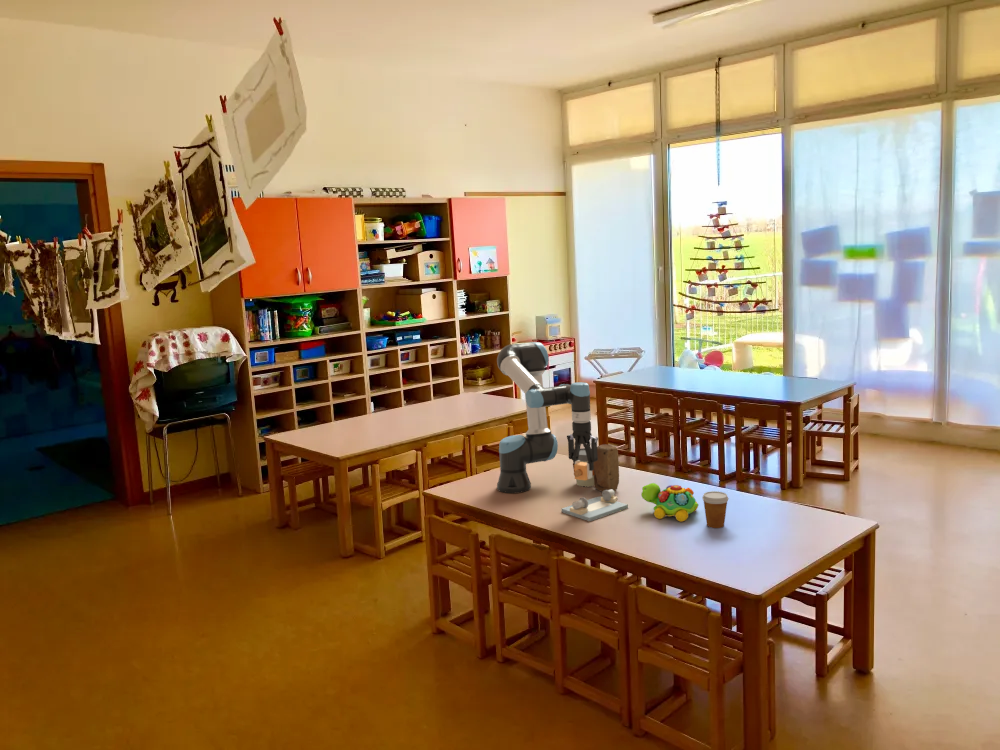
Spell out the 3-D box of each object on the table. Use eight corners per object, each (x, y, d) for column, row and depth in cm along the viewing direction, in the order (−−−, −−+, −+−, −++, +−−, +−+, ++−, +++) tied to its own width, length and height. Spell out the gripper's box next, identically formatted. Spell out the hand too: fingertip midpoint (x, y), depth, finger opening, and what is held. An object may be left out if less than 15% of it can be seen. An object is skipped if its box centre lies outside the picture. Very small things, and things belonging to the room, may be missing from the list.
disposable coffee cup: (716, 531, 294) (716, 500, 292) (697, 524, 302) (696, 494, 300) (734, 525, 299) (734, 495, 297) (714, 519, 307) (714, 489, 305)
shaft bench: (561, 512, 324) (561, 496, 322) (601, 498, 338) (601, 483, 337) (589, 521, 311) (589, 504, 310) (630, 507, 325) (629, 491, 324)
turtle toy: (649, 503, 329) (648, 476, 327) (705, 511, 317) (704, 482, 315) (634, 516, 315) (633, 488, 313) (692, 524, 303) (691, 495, 301)
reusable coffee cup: (567, 482, 363) (566, 450, 360) (590, 478, 368) (589, 446, 366) (582, 489, 351) (581, 456, 349) (606, 484, 357) (605, 452, 355)
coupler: (571, 480, 320) (570, 465, 320) (584, 474, 328) (584, 460, 327) (582, 481, 317) (581, 467, 317) (595, 476, 325) (594, 461, 324)
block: (621, 490, 347) (620, 446, 344) (609, 494, 343) (608, 449, 339) (603, 485, 356) (601, 442, 352) (591, 489, 351) (589, 445, 348)
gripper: (557, 421, 322) (560, 476, 326) (595, 424, 311) (598, 482, 314) (567, 417, 328) (570, 472, 331) (605, 421, 317) (607, 477, 320)
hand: (583, 477), depth 323 cm, fingers closed on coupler, 5 cm apart
